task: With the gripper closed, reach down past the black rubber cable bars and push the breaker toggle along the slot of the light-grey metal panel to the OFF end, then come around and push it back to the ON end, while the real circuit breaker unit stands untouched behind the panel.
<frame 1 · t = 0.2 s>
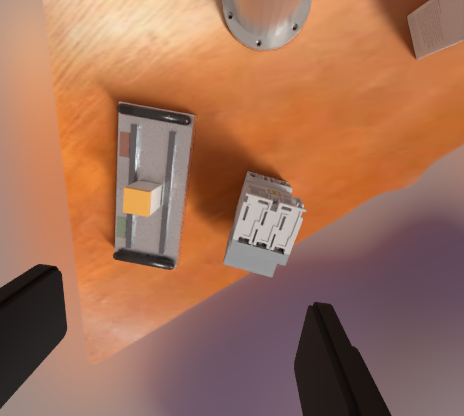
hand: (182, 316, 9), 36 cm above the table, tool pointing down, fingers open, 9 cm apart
toggle: (143, 197, 41), point 6 cm above the table, slide at 0.0 cm
small box: (438, 25, 36), on the table
panel: (155, 189, 46), on the table
circuit breaker: (256, 213, 46), on the table
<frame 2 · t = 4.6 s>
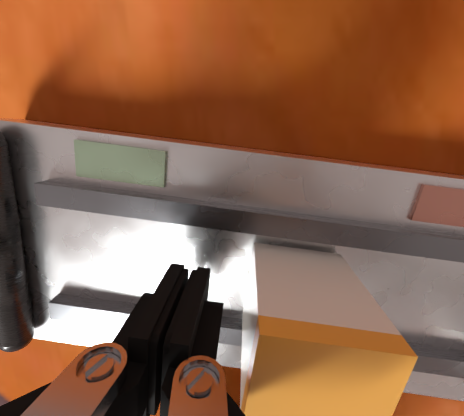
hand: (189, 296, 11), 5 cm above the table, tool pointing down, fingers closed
toggle: (300, 327, 10), point 6 cm above the table, slide at -0.9 cm, touching gripper
panel: (267, 255, 15), on the table
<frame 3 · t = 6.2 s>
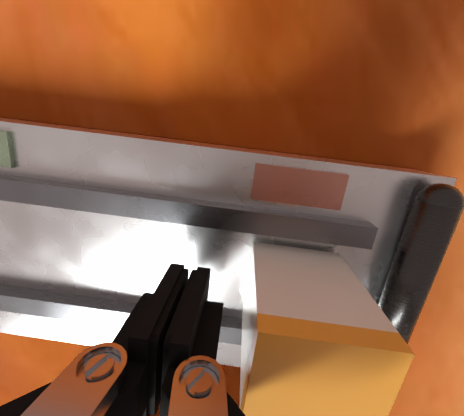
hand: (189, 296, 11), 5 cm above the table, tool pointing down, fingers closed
toggle: (299, 326, 10), point 6 cm above the table, slide at -7.9 cm, touching gripper
panel: (150, 239, 15), on the table
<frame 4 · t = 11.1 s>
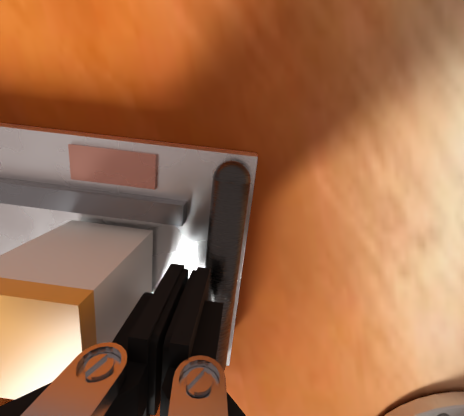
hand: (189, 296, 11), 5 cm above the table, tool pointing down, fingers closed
toggle: (78, 295, 10), point 6 cm above the table, slide at -7.5 cm, touching gripper
panel: (19, 224, 16), on the table
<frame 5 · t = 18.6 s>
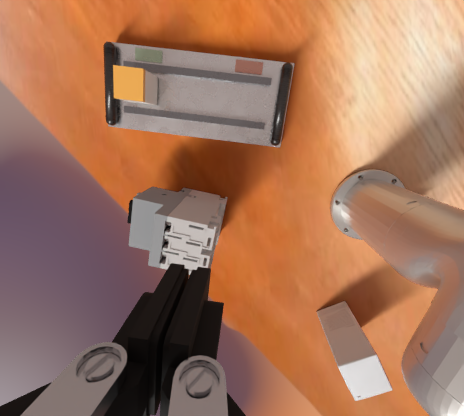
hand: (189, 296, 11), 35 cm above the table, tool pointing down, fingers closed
toggle: (137, 87, 36), point 6 cm above the table, slide at 8.0 cm
small box: (337, 319, 52), on the table
panel: (199, 98, 41), on the table
circuit breaker: (186, 207, 47), on the table
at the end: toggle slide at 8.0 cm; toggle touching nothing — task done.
